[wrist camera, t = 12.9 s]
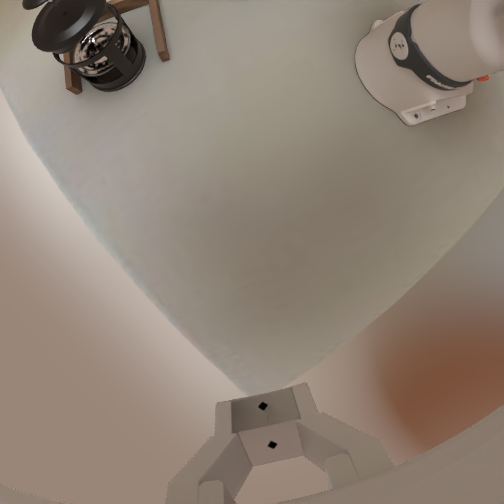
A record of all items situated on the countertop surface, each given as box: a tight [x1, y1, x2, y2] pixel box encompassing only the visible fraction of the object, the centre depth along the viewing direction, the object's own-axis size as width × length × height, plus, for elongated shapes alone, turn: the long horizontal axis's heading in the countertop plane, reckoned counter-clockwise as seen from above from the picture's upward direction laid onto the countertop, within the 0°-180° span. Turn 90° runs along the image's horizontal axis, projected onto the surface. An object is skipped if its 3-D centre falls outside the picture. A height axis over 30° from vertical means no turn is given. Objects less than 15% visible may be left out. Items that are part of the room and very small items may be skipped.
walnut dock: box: [64, 0, 170, 94], centre depth 33 cm, size 15×13×4 cm
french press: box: [22, 0, 146, 92], centre depth 24 cm, size 12×9×23 cm
